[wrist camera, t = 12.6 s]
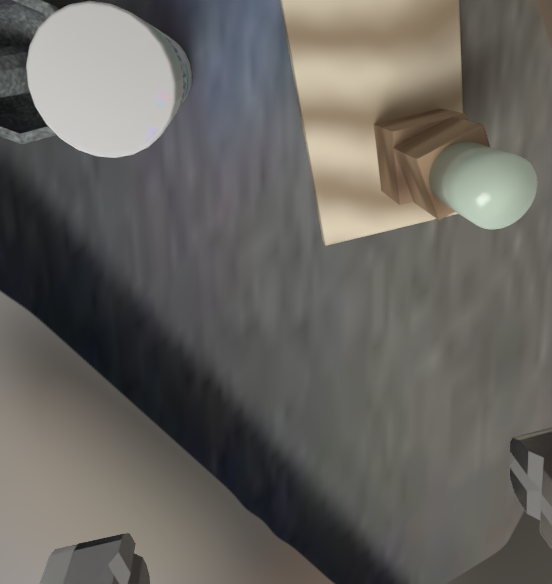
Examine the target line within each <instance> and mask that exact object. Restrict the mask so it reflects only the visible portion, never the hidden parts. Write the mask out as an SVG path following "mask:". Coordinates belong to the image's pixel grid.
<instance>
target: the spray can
mask: <svg viewBox="0 0 552 584" xmlns="http://www.w3.org/2000/svg"><path fill="white" fill-rule="evenodd" d="M26 69H27V80H28V87H29V90H30V93H31V96H32V99H33V102H34V105H35V107H36V109H37V110H38V112H39V113H40V115H41V116H42V118H43V120H44V121H45V123H46V124H47V125H48V126H49V127H50V128H51V129H52V130H53V131H54V132H55V133H56V134H57V135H58V136H59V137H60V138H61V139H62V140H63V141H65V142H67V143H68V144H70V145H71V146H73V147H74V148H76V149H78V150H80V151H83V152H86V153H89V154H92V155H94V156H101V157H111V158H117V157H122V156H128V155H133V154H135V153H137V152H139V151H141V150H143V149H145V148H148V147H149V146H150V145H151V144H152V143H153V142H155V141H156V140H157V139H158V138H159V137H160V136H161V135H162V134H163V132H164V131H165V129H166V128H167V126H168V125H169V123H170V122H171V120H172V119H173V117H174V116H175V114H176V113H177V111H178V110H179V108H180V107H181V105H182V104H183V103H184V101H185V99H186V98H187V96H188V94H189V91H190V88H191V84H192V71H191V67H190V62H189V60H188V58H187V56H186V54H185V52H184V50H183V49H182V48H181V47H180V45H179V44H178V43H177V42H176V41H174V40H173V39H172V38H170V37H169V36H167V35H166V34H164V33H163V32H161V31H160V30H158V29H156V28H155V27H153V26H152V25H150V24H149V23H147V22H145V21H144V20H142V19H141V18H139V17H138V16H136V15H134V14H133V13H131V12H129V11H127V10H124V9H122V8H120V7H117V6H115V5H113V4H109V3H102V2H95V1H86V2H80V3H74V4H69V5H67V6H65V7H63V8H61V9H59V10H57V11H55V12H54V13H52V14H51V15H50V16H49V17H48V18H47V19H46V20H45V21H44V22H43V23H42V24H41V25H40V26H39V27H38V29H37V31H36V33H35V35H34V37H33V39H32V41H31V43H30V45H29V51H28V57H27V63H26Z"/></svg>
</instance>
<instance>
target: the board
mask: <svg viewBox="0 0 552 584" xmlns="http://www.w3.org/2000/svg"><path fill="white" fill-rule="evenodd" d="M280 5H281V10H282V16H283V21H284V27H285V32H286V38H287V44H288V49H289V55H290V60H291V66H292V71H293V77H294V83H295V88H296V94H297V99H298V105H299V110H300V116H301V121H302V127H303V133H304V138H305V144H306V149H307V155H308V160H309V166H310V172H311V177H312V183H313V188H314V194H315V199H316V205H317V210H318V216H319V222H320V227H321V233H322V238H323V242H324V244H325V246H326V245H330V244H334V243H339V242H343V241H347V240H351V239H355V238H359V237H363V236H368V235H372V234H376V233H380V232H384V231H388V230H392V229H396V228H401V227H405V226H409V225H413V224H417V223H421V222H425V221H430V220H434V219H437V218H435V217H434V216H432V215H431V214H429V213H428V212H427V211H425V210H424V209H422V208H421V207H420V206H418V205H417V204H415V203H414V202H411V203H407V204H403V205H399V204H398V203H396V202H395V201H394V200H392V199H391V198H390V197H389V196H387V195H386V194H385V193H383V192H382V191H381V184H380V175H379V166H378V158H377V149H376V141H375V132H374V124H378V123H382V122H386V121H390V120H394V119H398V118H402V117H407V116H411V115H415V114H419V113H423V112H427V111H432V110H436V109H440V108H441V109H446V110H451V111H456V112H461V113H463V99H462V71H461V43H460V15H459V0H280ZM454 214H458V213H457V212H454V213H452V214H450V215H454ZM450 215H448V216H450Z"/></svg>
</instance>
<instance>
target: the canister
mask: <svg viewBox="0 0 552 584" xmlns="http://www.w3.org/2000/svg"><path fill="white" fill-rule="evenodd" d="M429 187H430V190H431V192H432V194H433V196H434V197H435V198H436V199H437V200H438V201H439V202H441V203H442V204H444V205H445V206H447V207H449V208H450V209H452V210H454V211H455V212H457V213H458V214H460V215H462V216H463V217H465V218H466V219H468V220H470V221H471V222H473V223H474V224H476V225H478V226H479V227H482V228H485V229H500V228H503V227H506V226H509V225H511V224H512V223H514V222H516V221H517V220H518V219H520V218H521V217H522V216H523V215H524V214H525V213H526V212H527V210H528V209H529V207H530V206H531V204H532V202H533V200H534V198H535V195H536V190H537V176H536V173H535V170H534V168H533V167H532V165H531V164H530V163H529V162H528V161H527V160H526V159H524V158H522V157H520V156H517V155H514V154H510V153H507V152H504V151H501V150H497V149H494V148H491V147H488V146H484V145H481V144H478V143H475V142H471V141H461V142H457V143H454V144H452V145H450V146H448V147H446V148H445V149H444V150H443V151H442V152H441V153H440V154H439V155H438V156H437V157H436V159H435V160H434V162H433V164H432V166H431V169H430V173H429Z"/></svg>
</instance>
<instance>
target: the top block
mask: <svg viewBox="0 0 552 584" xmlns="http://www.w3.org/2000/svg"><path fill="white" fill-rule="evenodd" d="M461 141H471V142H475V143H478V144H481V145H484V146H488V147H490V145H489V142H488V138H487V135H486V131H485V128H484V124H481V123H476V122H472V121H468V120H463V119H459V118H455V117H450V118H448V119H446V120H445V121H443V122H441V123H439V124H437V125H435V126H433V127H431V128H430V129H428V130H426V131H424V132H422V133H420V134H418V135H416V136H415V137H413V138H411V139H409V140H407V141H405V142H403V143H401V144H400V145H398V146H396V147H394V148H393V149H394V152H395V154H396V157H397V160H398V162H399V165H400V167H401V170H402V173H403V175H404V178H405V180H406V183H407V186H408V188H409V191H410V193H411V196H412V199H413V201H414V203H415V204H417V205H418V206H420V207H421V208H422V209H424V210H425V211H427V212H428V213H429V214H431V215H432V216H434V217H435V218H437V219H438V220H440V219H442V218H444V217H446V216H448V215H450V214H452V213H454V212H455V211H454V210H452V209H450V208H449V207H447V206H445V205H444V204H442V203H441V202H439V201H438V200H437V199H436V198H435V197H434V196H433V194H432V192H431V190H430V187H429V173H430V169H431V166H432V164H433V162H434V160H435V159H436V157H437V156H438V155H439V154H440V153H441V152H442V151H443V150H444V149H445V148H446V147H448V146H450V145H452V144H454V143H457V142H461Z"/></svg>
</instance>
